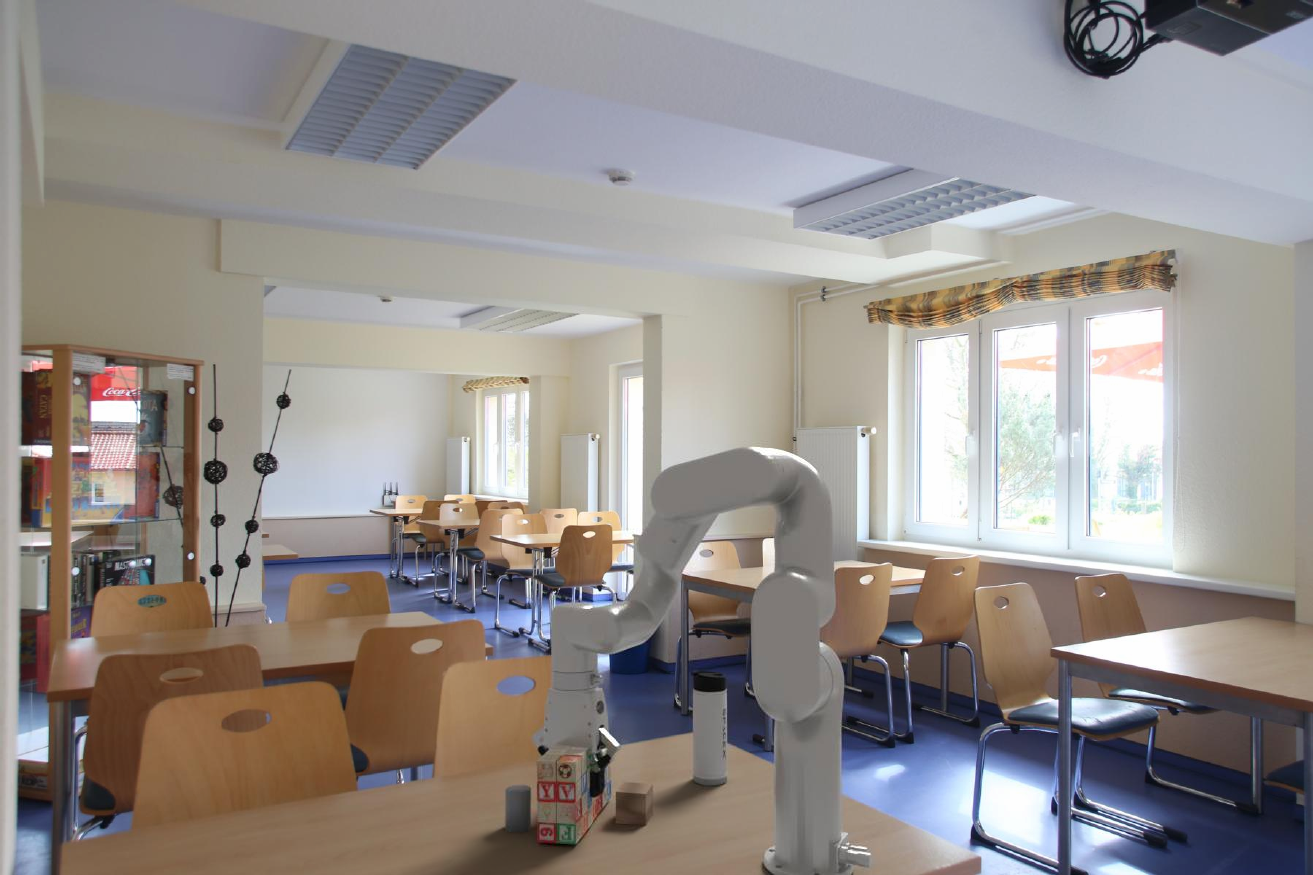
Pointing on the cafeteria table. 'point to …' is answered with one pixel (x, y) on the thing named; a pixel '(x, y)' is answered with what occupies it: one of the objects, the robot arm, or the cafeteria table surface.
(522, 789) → the dark grey cylinder
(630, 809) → the walnut cube
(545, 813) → the stack of blocks
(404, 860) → the cafeteria table surface
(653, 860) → the cafeteria table surface
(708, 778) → the travel mug
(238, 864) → the cafeteria table surface
